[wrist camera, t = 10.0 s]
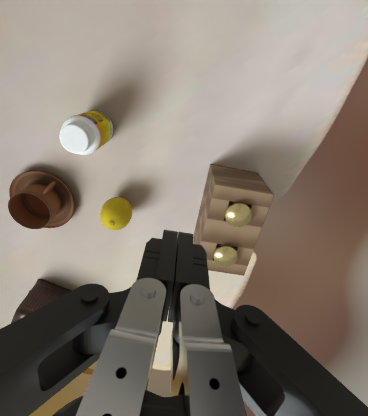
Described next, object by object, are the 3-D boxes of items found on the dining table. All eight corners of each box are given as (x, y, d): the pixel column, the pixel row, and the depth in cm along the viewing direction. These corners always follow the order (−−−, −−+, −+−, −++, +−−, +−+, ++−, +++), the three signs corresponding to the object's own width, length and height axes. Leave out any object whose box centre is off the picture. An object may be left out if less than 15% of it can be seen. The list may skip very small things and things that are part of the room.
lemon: (139, 211, 51) (132, 233, 44) (114, 218, 52) (103, 241, 45) (129, 187, 49) (118, 206, 41) (103, 195, 49) (88, 214, 42)
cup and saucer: (19, 158, 47) (-4, 168, 41) (83, 182, 48) (70, 195, 43) (12, 210, 52) (-9, 226, 46) (71, 230, 54) (57, 248, 48)
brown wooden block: (210, 164, 46) (215, 184, 37) (257, 172, 47) (273, 194, 38) (193, 236, 53) (194, 268, 45) (234, 243, 54) (243, 275, 45)
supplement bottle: (115, 113, 43) (95, 122, 33) (113, 146, 45) (93, 162, 36) (81, 106, 42) (52, 114, 33) (81, 139, 45) (53, 155, 36)
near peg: (221, 179, 46) (229, 202, 38) (242, 182, 47) (255, 206, 38) (216, 198, 48) (222, 225, 39) (237, 202, 48) (247, 229, 40)
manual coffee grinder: (36, 276, 59) (-21, 349, 43) (81, 294, 62) (43, 369, 46) (20, 316, 66) (-34, 392, 50) (62, 330, 68) (23, 408, 52)
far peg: (211, 216, 50) (216, 245, 41) (231, 219, 50) (240, 249, 41) (207, 233, 52) (211, 264, 43) (226, 236, 52) (234, 268, 43)
